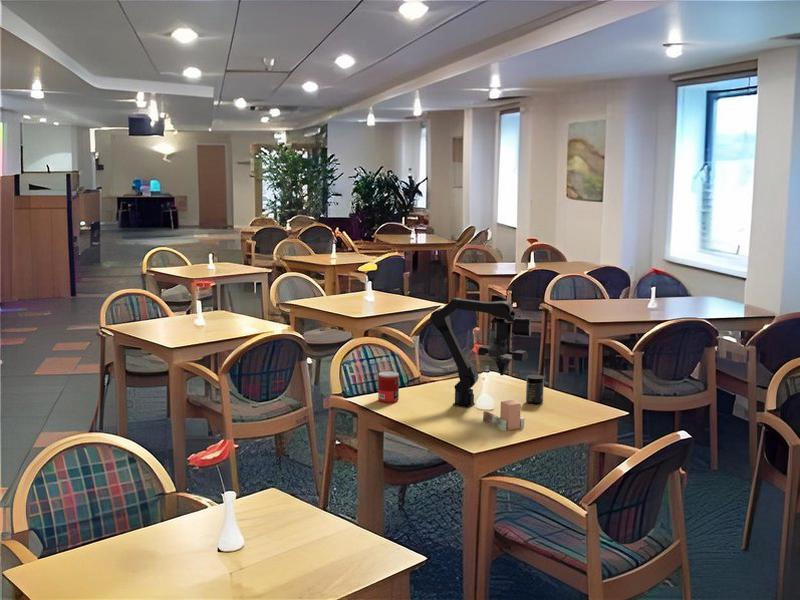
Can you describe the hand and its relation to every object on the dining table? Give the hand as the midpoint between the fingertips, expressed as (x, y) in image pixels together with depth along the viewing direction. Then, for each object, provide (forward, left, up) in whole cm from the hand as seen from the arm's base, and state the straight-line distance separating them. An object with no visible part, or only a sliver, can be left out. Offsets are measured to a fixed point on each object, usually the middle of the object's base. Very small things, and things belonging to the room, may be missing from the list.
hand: (501, 375), depth 319 cm
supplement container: (+7, +15, -13) cm, 21 cm away
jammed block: (+14, -20, -13) cm, 27 cm away
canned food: (-41, -16, -13) cm, 46 cm away
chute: (+10, -18, -13) cm, 24 cm away
